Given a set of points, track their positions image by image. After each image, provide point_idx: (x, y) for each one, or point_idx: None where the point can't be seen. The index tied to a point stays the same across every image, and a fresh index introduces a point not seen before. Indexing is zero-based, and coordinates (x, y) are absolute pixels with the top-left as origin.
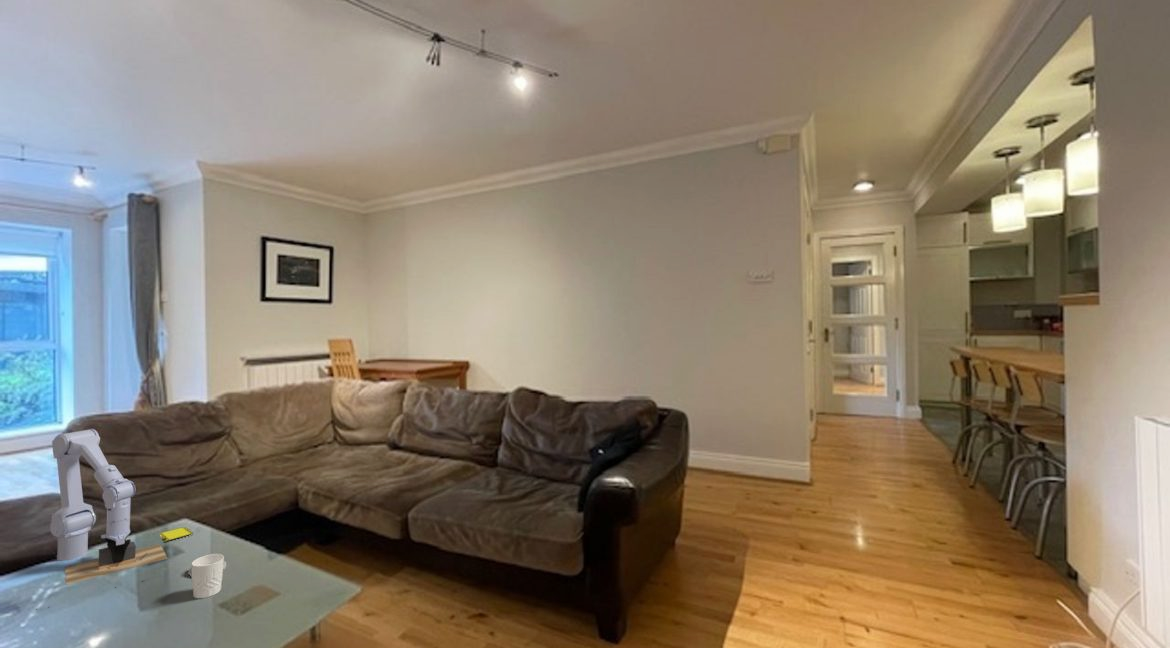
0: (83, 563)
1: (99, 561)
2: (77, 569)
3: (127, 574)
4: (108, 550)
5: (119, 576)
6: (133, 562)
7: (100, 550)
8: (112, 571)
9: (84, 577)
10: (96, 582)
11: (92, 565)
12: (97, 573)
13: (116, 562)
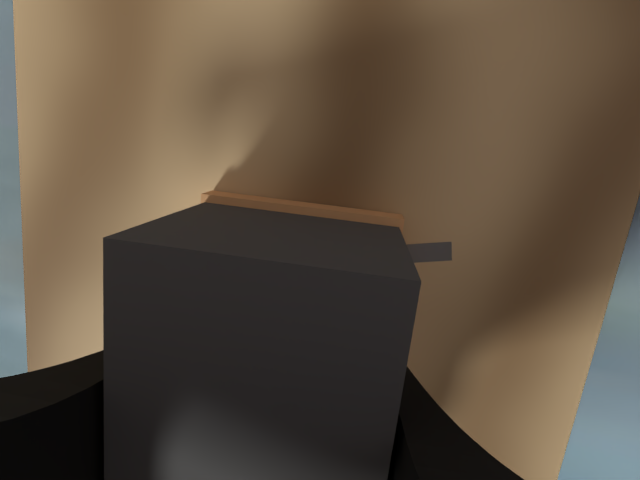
0: (611, 106)
1: (263, 219)
2: (437, 16)
3: (11, 342)
4: (203, 375)
5: (12, 291)
6: None
7: (320, 285)
8: (54, 269)
9: (87, 37)
10: (5, 127)
11: (425, 169)
12: (110, 158)
13: None
